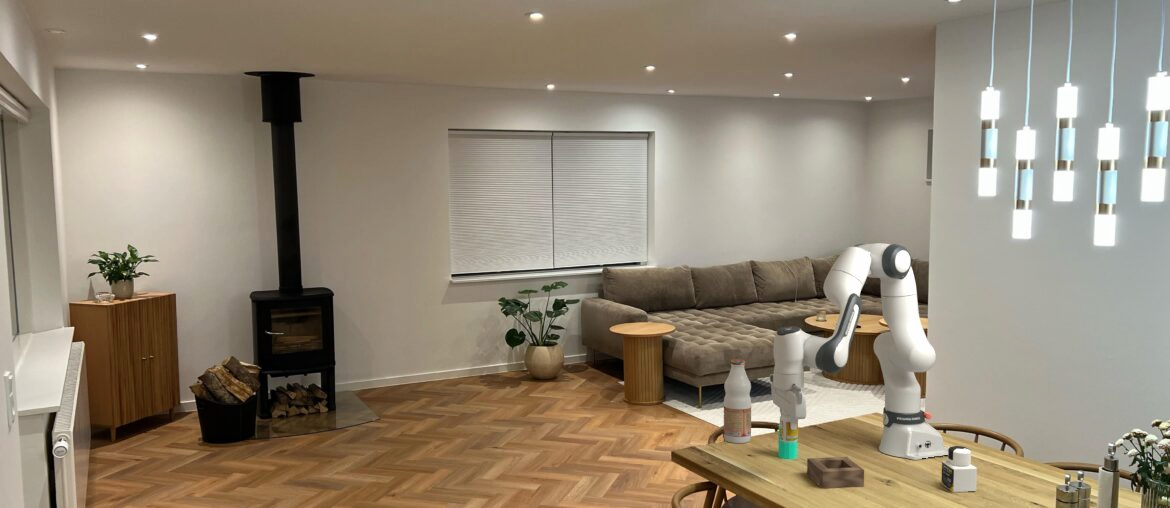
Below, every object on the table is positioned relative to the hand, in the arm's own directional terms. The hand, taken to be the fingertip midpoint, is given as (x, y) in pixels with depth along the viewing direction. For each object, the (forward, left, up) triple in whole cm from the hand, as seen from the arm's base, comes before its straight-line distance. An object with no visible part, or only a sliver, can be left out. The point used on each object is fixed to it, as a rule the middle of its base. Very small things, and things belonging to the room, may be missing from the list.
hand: (789, 425), depth 262 cm
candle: (-7, -19, -16) cm, 26 cm away
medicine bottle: (-46, +16, -16) cm, 51 cm away
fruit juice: (+4, -39, -16) cm, 42 cm away
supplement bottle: (0, 0, -5) cm, 5 cm away
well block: (-13, +5, -16) cm, 21 cm away
